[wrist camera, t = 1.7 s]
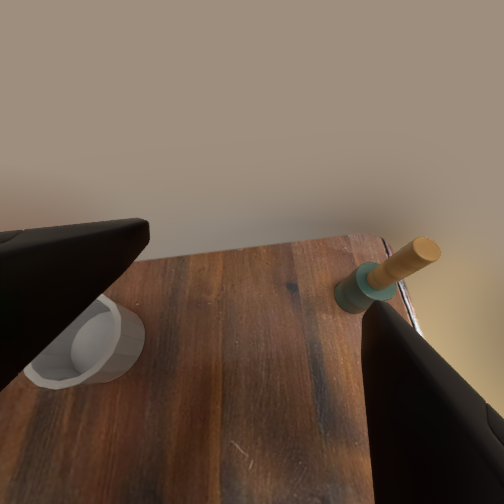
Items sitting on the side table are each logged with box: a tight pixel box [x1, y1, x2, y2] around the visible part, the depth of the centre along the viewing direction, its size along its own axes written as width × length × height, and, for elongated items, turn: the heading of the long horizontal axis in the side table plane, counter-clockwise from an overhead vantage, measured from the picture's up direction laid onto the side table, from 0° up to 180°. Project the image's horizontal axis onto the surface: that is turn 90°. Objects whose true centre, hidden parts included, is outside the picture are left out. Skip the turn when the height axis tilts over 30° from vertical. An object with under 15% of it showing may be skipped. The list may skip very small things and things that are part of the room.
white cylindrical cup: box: [23, 294, 145, 390], centre depth 19 cm, size 7×7×5 cm
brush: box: [335, 237, 441, 314], centre depth 19 cm, size 4×4×11 cm
